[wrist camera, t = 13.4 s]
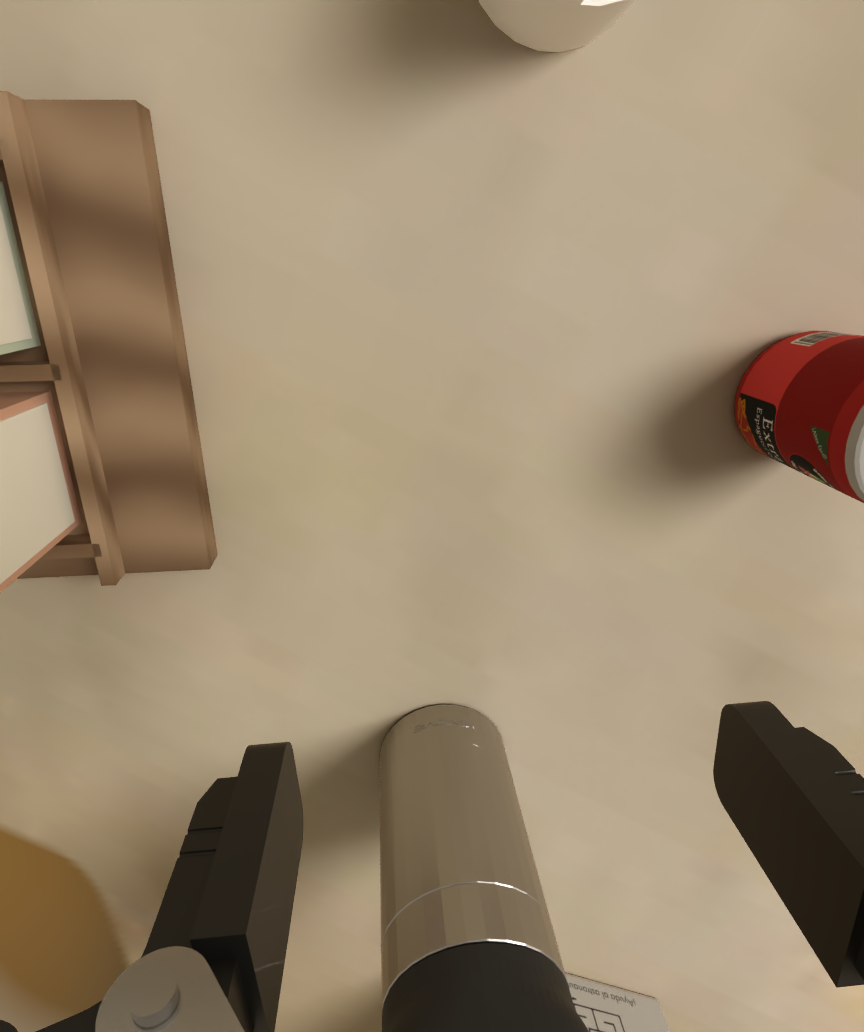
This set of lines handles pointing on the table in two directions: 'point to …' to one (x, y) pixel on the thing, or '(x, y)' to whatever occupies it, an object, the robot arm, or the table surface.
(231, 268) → the table surface
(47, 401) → the terracotta tea box
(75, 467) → the display rack
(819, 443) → the canned food
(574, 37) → the white upright block
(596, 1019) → the cereal box
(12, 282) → the sage tea box
